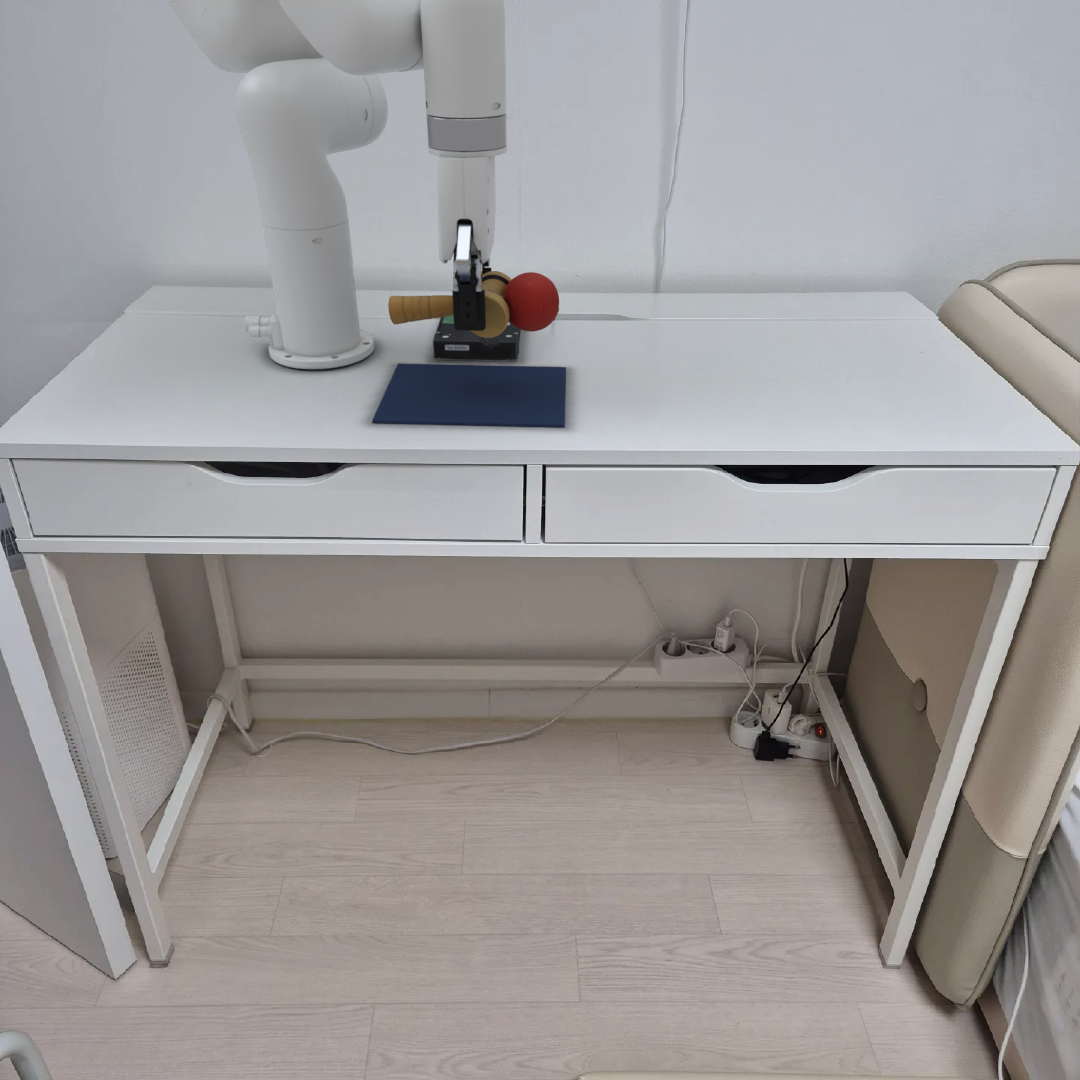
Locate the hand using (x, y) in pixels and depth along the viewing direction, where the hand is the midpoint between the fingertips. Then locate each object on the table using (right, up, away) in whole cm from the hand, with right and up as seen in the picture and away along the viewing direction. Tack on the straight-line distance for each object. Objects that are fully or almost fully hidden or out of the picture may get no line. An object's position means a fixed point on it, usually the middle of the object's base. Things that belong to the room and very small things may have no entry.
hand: (473, 315), depth 95 cm
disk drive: (-1, +1, +19) cm, 19 cm away
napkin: (0, -8, +5) cm, 9 cm away
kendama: (0, -1, +1) cm, 2 cm away
